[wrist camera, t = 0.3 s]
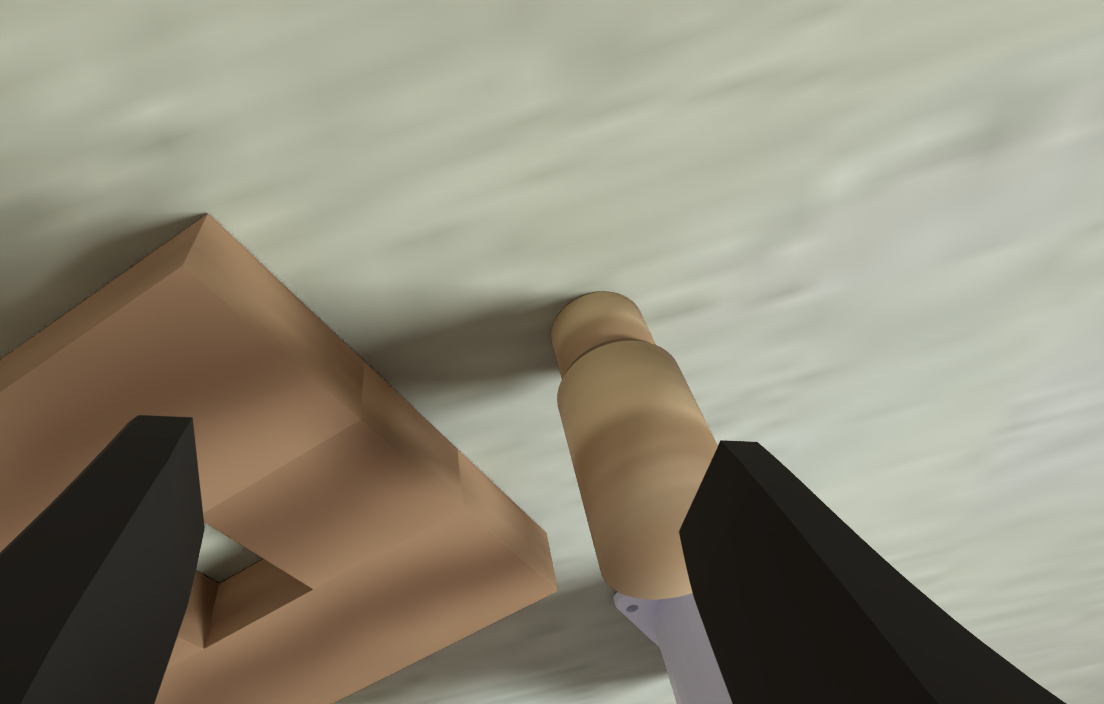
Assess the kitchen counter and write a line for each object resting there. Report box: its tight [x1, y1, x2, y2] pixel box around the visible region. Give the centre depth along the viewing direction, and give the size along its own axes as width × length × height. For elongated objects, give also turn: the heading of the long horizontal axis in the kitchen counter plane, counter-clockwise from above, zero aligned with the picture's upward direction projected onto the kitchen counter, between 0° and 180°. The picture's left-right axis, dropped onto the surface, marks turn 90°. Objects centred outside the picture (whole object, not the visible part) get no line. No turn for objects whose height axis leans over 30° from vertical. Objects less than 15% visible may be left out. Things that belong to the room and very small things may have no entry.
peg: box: [551, 292, 718, 600], centre depth 18 cm, size 3×3×8 cm
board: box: [0, 214, 558, 704], centre depth 22 cm, size 16×16×2 cm
